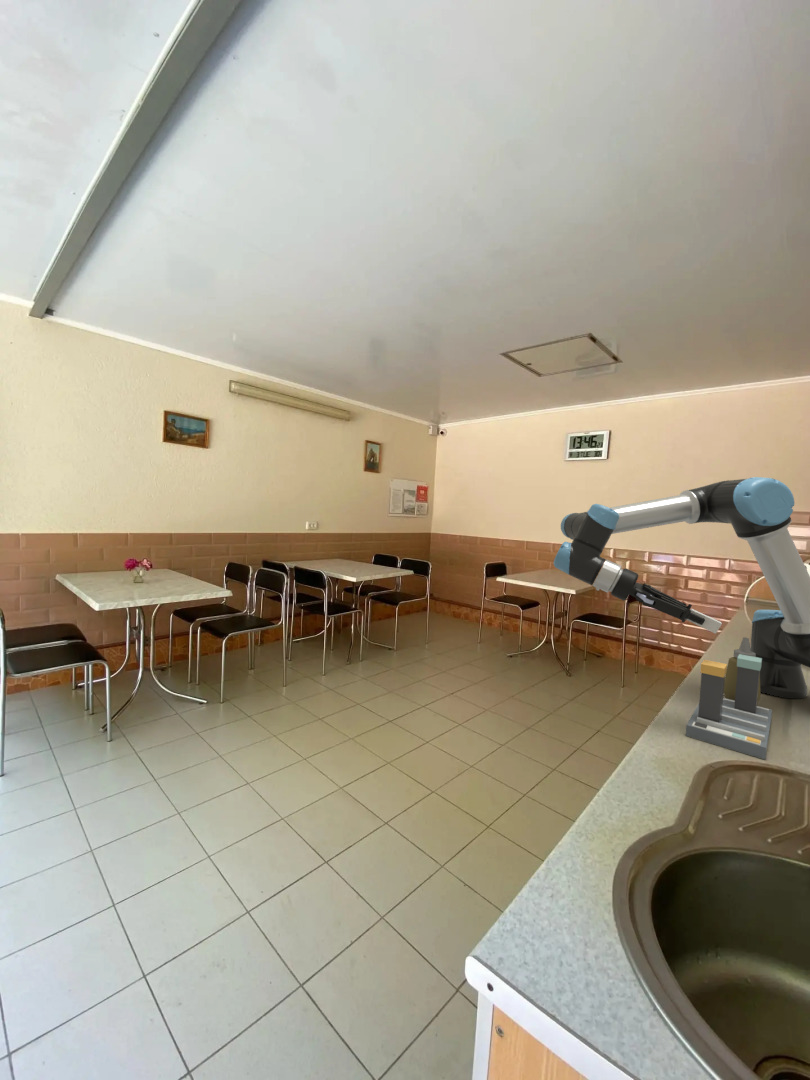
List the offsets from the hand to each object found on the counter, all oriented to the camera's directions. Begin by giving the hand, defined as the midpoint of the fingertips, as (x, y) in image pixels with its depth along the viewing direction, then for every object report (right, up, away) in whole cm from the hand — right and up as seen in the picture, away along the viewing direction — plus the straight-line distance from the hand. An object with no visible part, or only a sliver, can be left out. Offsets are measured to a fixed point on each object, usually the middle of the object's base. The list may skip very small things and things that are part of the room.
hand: (718, 627), depth 105 cm
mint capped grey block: (+10, -21, +5) cm, 24 cm away
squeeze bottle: (+16, -23, +15) cm, 32 cm away
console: (+4, -24, +2) cm, 24 cm away
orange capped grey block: (-2, -21, -1) cm, 21 cm away
